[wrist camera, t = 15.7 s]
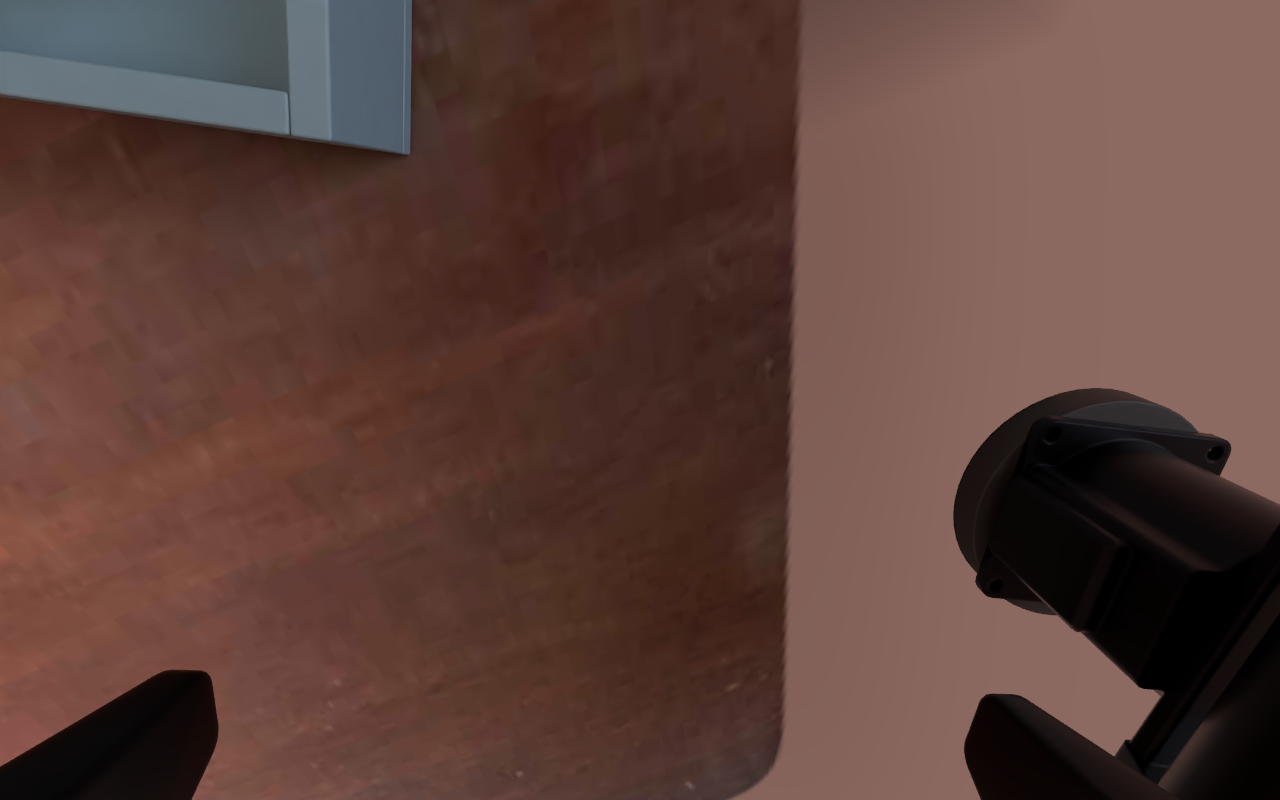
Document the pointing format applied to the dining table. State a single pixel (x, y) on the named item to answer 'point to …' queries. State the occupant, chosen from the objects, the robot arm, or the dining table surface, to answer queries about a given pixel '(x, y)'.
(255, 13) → the tub
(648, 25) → the dining table surface
